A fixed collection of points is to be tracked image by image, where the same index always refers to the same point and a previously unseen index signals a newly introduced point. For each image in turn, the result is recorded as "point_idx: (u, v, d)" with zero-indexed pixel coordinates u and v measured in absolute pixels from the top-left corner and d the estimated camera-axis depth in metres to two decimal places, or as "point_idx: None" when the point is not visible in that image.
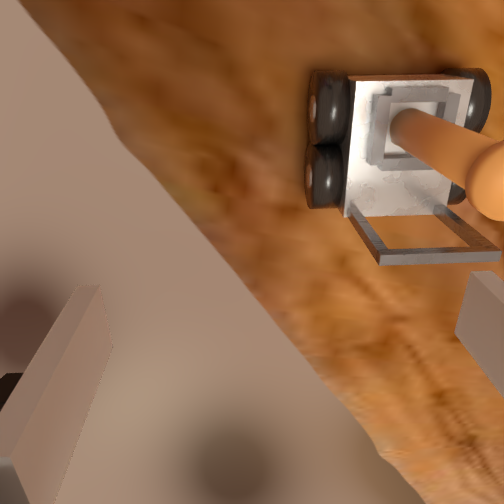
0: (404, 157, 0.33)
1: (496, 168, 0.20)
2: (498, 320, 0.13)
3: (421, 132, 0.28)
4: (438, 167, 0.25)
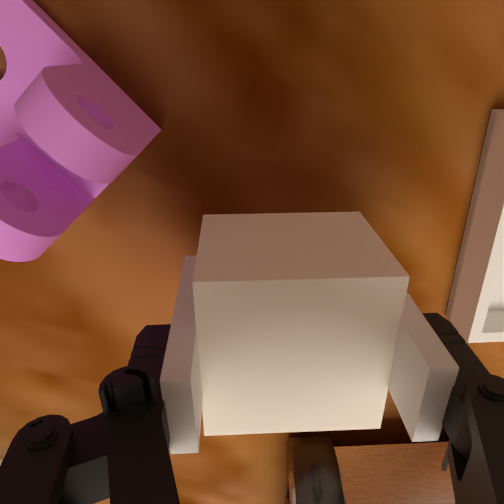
0: None
1: None
2: None
3: None
4: None
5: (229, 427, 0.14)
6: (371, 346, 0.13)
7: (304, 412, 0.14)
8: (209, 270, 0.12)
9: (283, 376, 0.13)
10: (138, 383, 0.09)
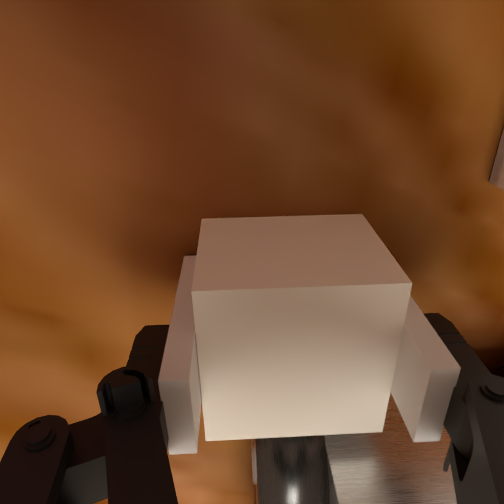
0: None
1: None
2: None
3: None
4: None
5: (231, 432, 0.14)
6: (373, 352, 0.12)
7: (305, 417, 0.14)
8: (208, 279, 0.12)
9: (284, 383, 0.13)
10: (136, 384, 0.09)
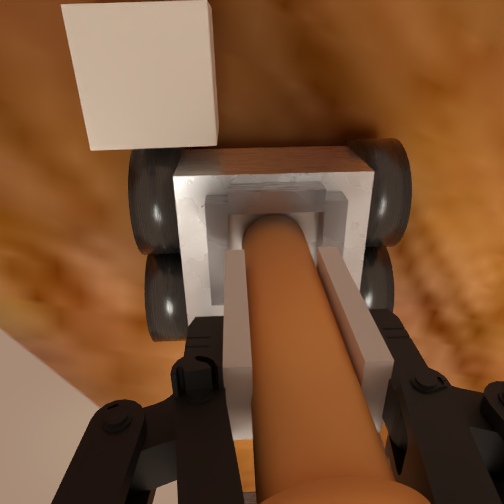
0: None
1: None
2: (327, 287, 0.15)
3: (251, 294, 0.14)
4: None
5: (107, 142, 0.20)
6: (194, 64, 0.18)
7: (158, 128, 0.19)
8: None
9: (137, 93, 0.19)
10: (207, 370, 0.10)
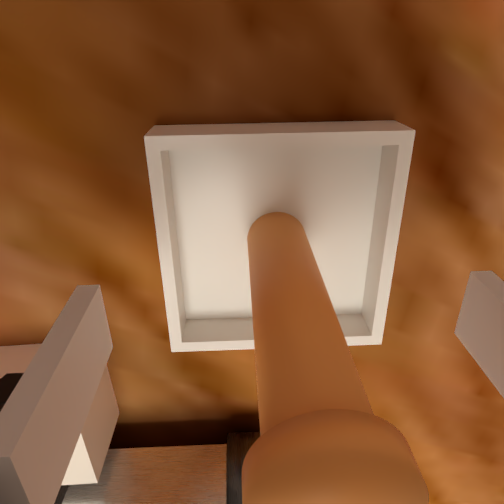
0: None
1: (281, 491, 0.09)
2: (498, 320, 0.13)
3: (256, 279, 0.16)
4: None
5: None
6: None
7: None
8: None
9: None
10: None
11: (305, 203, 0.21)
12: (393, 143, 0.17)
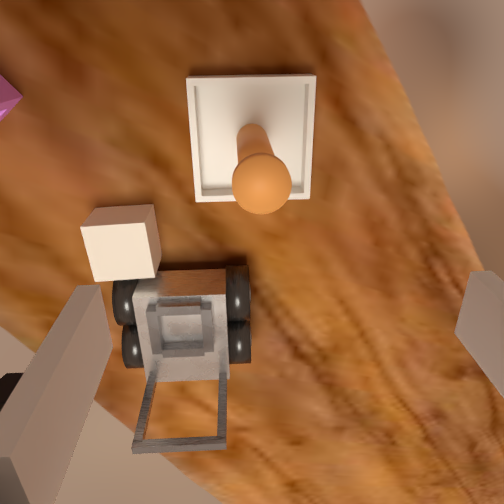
0: (180, 347, 0.42)
1: (244, 174, 0.27)
2: (498, 320, 0.13)
3: (239, 144, 0.35)
4: None
5: (102, 278, 0.41)
6: (141, 246, 0.40)
7: (126, 271, 0.41)
8: (86, 224, 0.39)
9: (115, 258, 0.40)
10: None
11: (266, 118, 0.39)
12: (306, 82, 0.36)
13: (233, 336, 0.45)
